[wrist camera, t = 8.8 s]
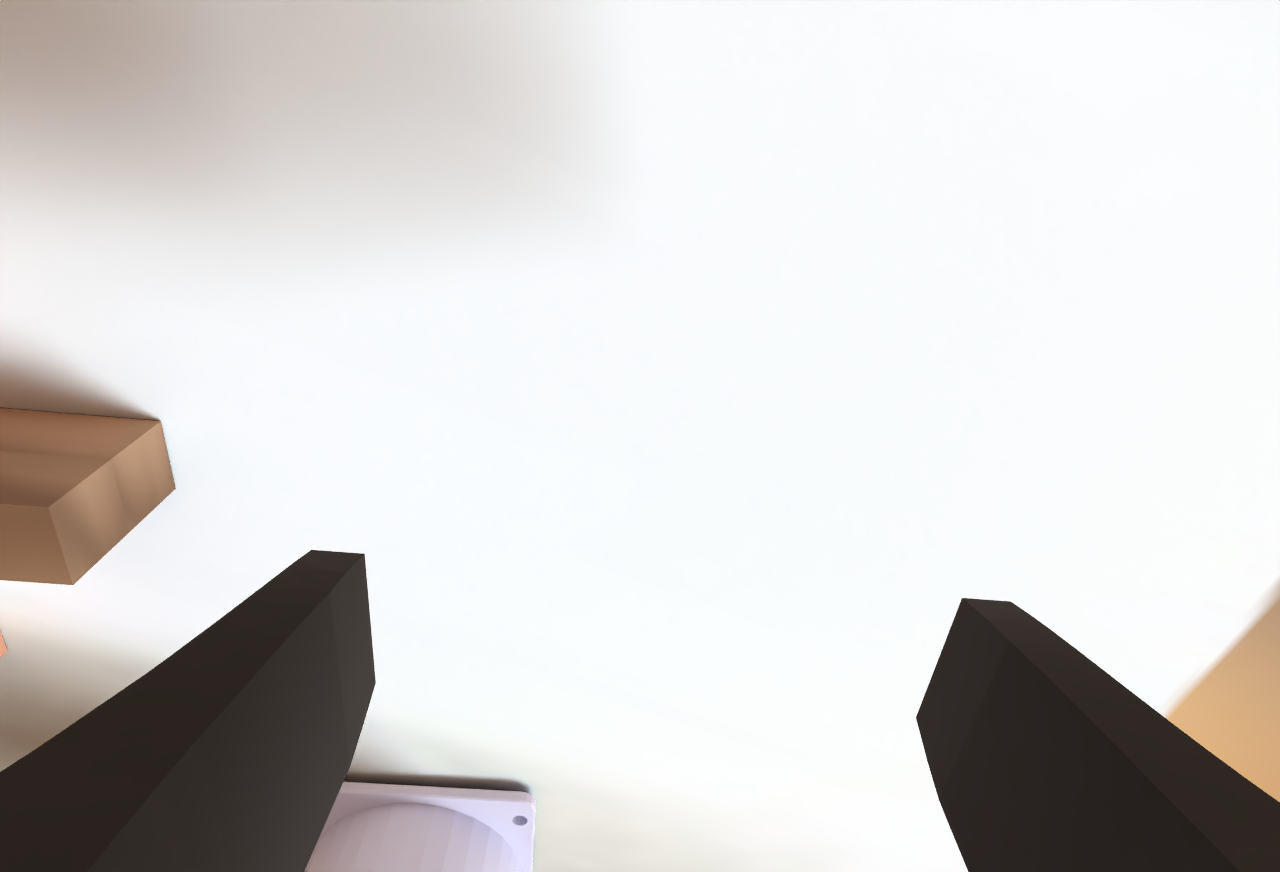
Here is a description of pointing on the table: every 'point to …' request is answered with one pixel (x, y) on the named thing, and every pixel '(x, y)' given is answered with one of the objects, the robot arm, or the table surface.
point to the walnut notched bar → (74, 489)
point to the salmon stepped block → (2, 646)
